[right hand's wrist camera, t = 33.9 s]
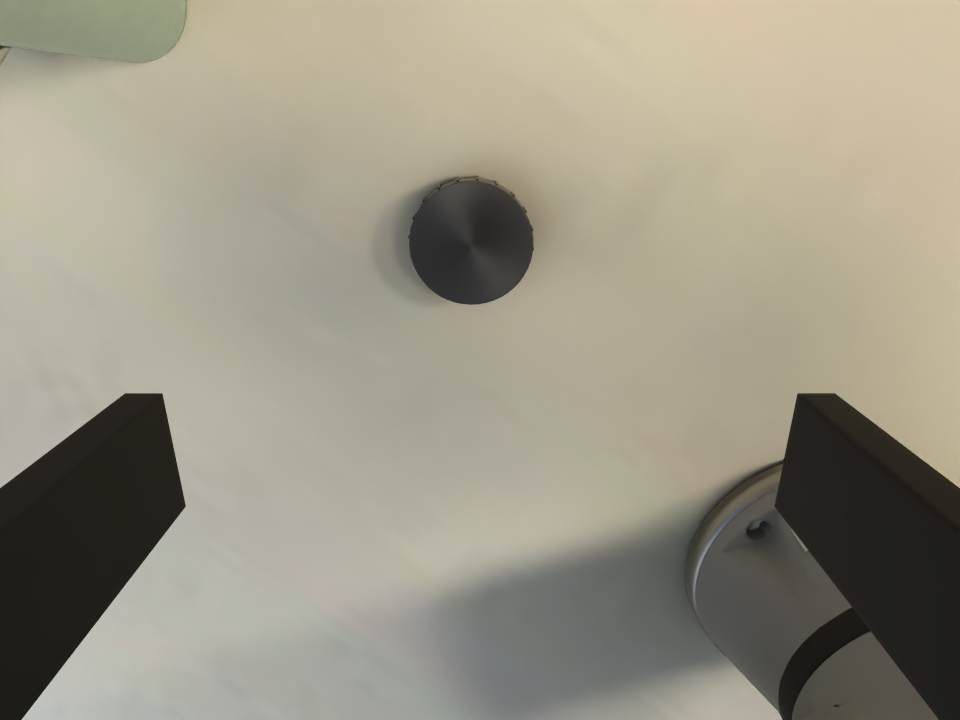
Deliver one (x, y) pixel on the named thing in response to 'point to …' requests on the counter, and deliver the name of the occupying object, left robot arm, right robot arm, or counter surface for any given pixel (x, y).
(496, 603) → the counter surface
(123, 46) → the pale green bottle
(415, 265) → the lid
